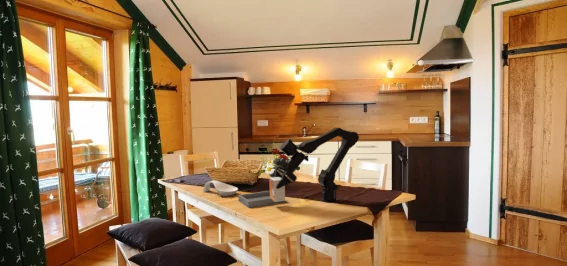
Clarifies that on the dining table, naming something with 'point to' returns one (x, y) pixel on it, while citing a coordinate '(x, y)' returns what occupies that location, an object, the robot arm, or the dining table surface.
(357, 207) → the dining table surface
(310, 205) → the dining table surface
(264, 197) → the tray
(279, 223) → the dining table surface
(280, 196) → the small box
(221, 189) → the spoon rest
